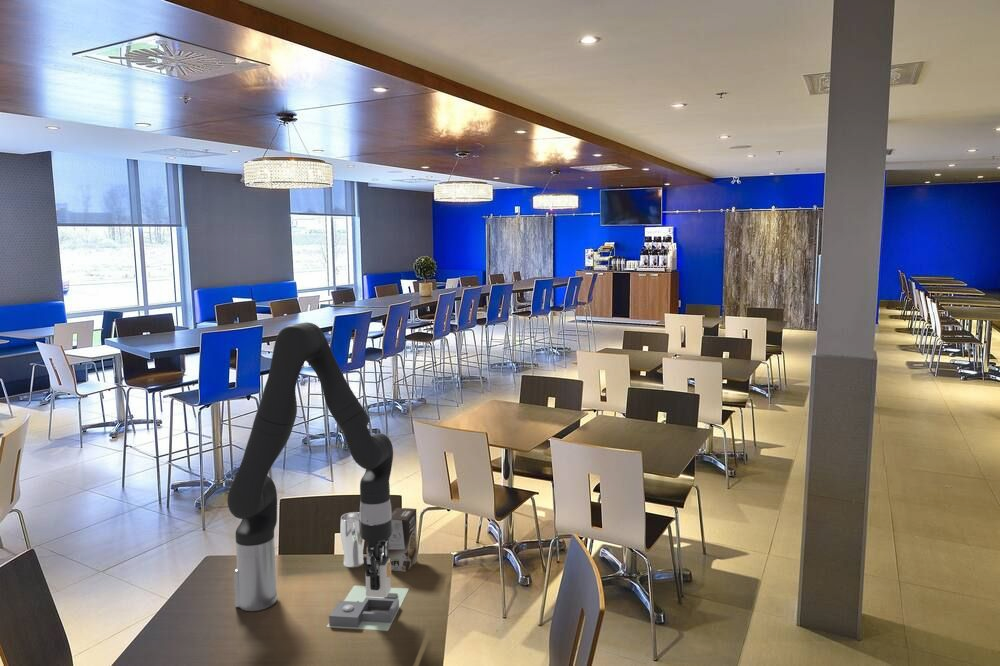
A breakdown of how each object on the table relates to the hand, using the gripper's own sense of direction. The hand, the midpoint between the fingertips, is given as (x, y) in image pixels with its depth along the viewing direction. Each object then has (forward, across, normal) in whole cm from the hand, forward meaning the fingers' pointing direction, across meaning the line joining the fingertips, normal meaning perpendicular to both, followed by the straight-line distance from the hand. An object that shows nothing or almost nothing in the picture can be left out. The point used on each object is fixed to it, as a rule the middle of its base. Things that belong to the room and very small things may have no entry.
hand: (378, 584), depth 162 cm
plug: (+2, 0, 0) cm, 2 cm away
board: (+9, -3, -3) cm, 10 cm away
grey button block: (+8, +1, -7) cm, 10 cm away
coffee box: (+9, -27, -1) cm, 28 cm away
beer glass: (+9, -26, -15) cm, 31 cm away
